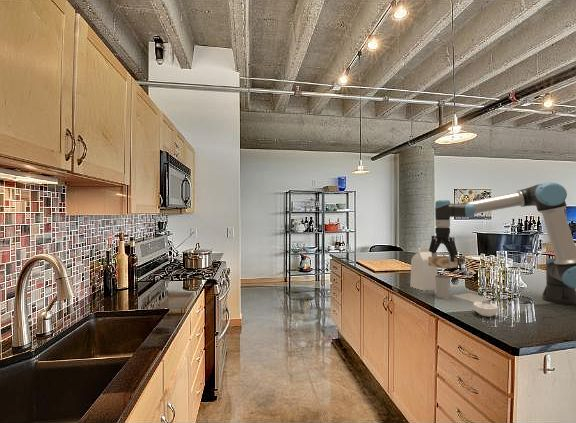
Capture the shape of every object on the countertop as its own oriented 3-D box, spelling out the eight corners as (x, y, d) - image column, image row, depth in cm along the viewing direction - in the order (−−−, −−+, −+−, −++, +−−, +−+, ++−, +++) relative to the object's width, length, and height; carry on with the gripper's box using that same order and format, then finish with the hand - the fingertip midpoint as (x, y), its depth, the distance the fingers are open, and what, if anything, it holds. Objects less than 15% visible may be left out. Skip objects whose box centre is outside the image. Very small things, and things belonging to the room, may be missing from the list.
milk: (423, 291, 190) (422, 249, 190) (410, 286, 201) (409, 247, 201) (438, 289, 194) (438, 248, 194) (425, 285, 205) (424, 246, 205)
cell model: (470, 316, 144) (470, 301, 144) (476, 310, 153) (476, 296, 153) (496, 321, 137) (496, 306, 137) (500, 314, 146) (500, 300, 146)
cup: (452, 299, 171) (452, 278, 171) (437, 299, 172) (437, 277, 172) (448, 296, 179) (448, 275, 179) (433, 295, 180) (433, 274, 180)
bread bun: (457, 267, 172) (457, 258, 172) (443, 268, 169) (443, 259, 169) (442, 264, 182) (442, 255, 182) (428, 265, 179) (428, 256, 179)
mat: (492, 300, 170) (492, 299, 170) (474, 302, 165) (474, 302, 165) (469, 293, 183) (469, 293, 183) (452, 296, 178) (452, 295, 178)
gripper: (422, 226, 185) (422, 263, 185) (455, 228, 163) (455, 269, 163) (431, 226, 188) (431, 262, 188) (465, 228, 166) (465, 268, 166)
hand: (442, 265), depth 176 cm, fingers closed on bread bun, 10 cm apart
